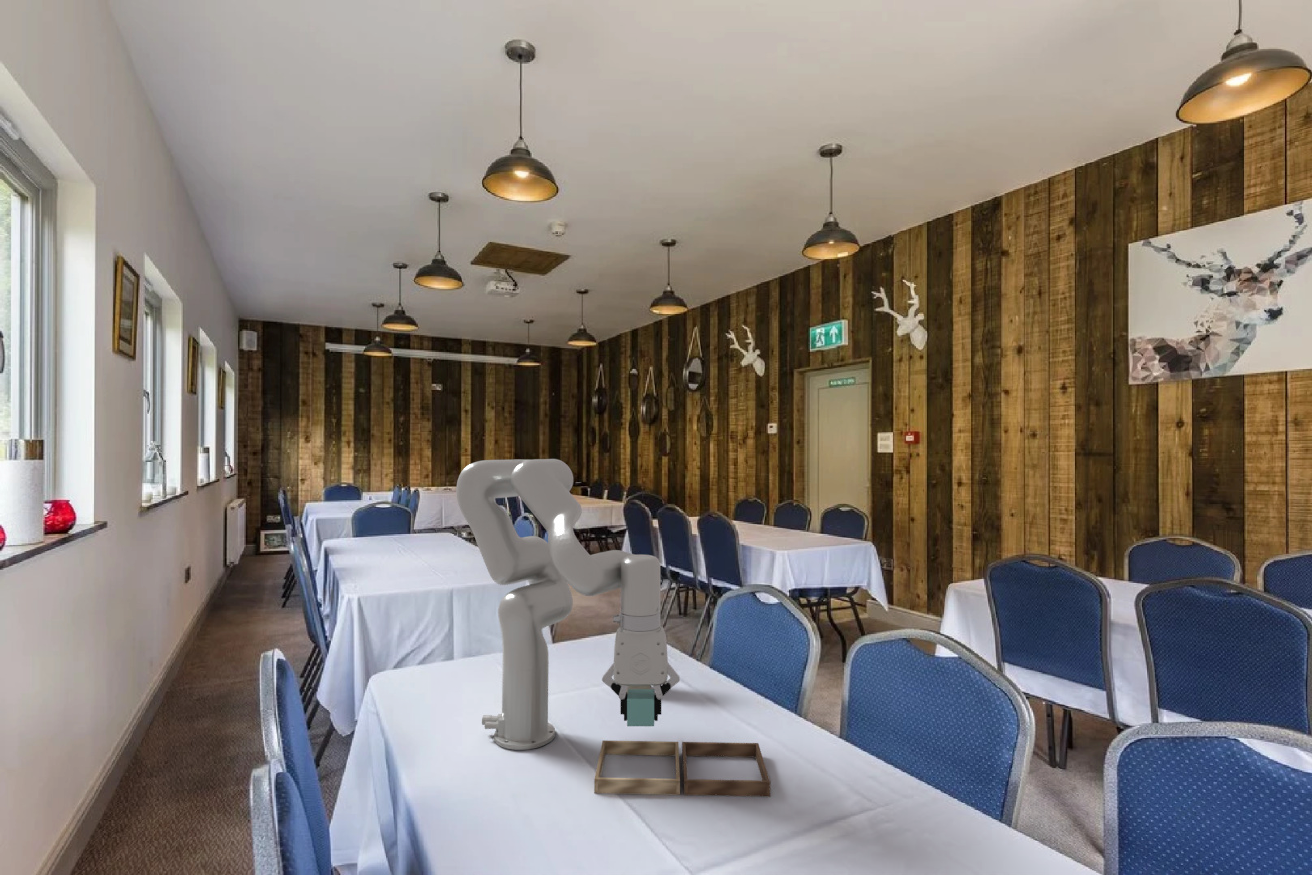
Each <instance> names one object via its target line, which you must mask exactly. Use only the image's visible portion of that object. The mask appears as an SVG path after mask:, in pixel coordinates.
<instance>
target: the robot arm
mask: <svg viewBox="0 0 1312 875" xmlns="http://www.w3.org/2000/svg"><path fill="white" fill-rule="evenodd" d="M573 485H574V474H573V472H572V470H571V468H570V466H568V464H566V462H564V461H562V460H560V459H557V458H545V459H544V458H540V459H539V458H537V459H535V458H534V459H523V458H522V459H519V458H518V459H487V460H485V459H484V460H478V461H475V462H472V463H470V464H467V465H466V466H465V467H464V468H463V469H462V470H461V472H460V474H459V475H458V479H457V482H456V488H455V489H456V490H455V492H456V494H455V495H456V501H457V505H458V507H459V509H460V512H461V513H462V516H463V518H464V520H466V523H467V524H468V527H470V530H471V532H472V534H473V536H474V538H475V541H476V545H477V547H478V549H479V552H480V554H481V557H482V559H483V562H484V564H485V568H486V570H487V571H488V574H489V576H490V577H491V579H492V580H493V581H494V583H495V584H498V585H499V586H509V585H514V584H518V583H522V582H526V581H527V582H528V585H524V586H520V587H517V588H515V589H512V590H510V591H509V592H507V593H506V594H505V595H504V596H503V597H502V599H501V600H500V602H499V605H498V610H497V611H498V612H497V613H498V623H499V627H500V633H501V634H500V635H501V641H502V644H501V645H502V681H501V682H502V684H501V685H502V686H501V687H502V688H501V689H502V690H501V691H502V696H501V698H502V699H501V713H498V714H497V715H491V714H490V715H489V714H483V715H482V719H481V725H482V726H484V729H485V730H493V729H495V731H494V735H493V737H494V738H493V740H494V742H495V743H496V745H497V746H499V747H502V748H504V749H507V750H515V751H523V750H524V751H525V750H527V751H528V750H533V749H534V750H535V749H537V748H541V747H543V746H545V745H547V744H549V743H550V742H552V741H553V739H554V738H555V737H556V727H555V726H554V725H553V724H552V723H550V722H549V664H550V663H549V647H548V644H547V642H546V639H545V637H544V635H543V632H542V631H543V629H545V628H547V627H549V626H551V625H552V626H553V625H554V624H557V623H559V622H562V621H564V620H565V619H567V618H568V616H569V615H571V612H572V610H573V606H574V605H573V604H574V602H573V601H574V600H573V593H572V591H571V588H572V589H573V590H575V591H576V592H577V593H579V594H580V595H582V596H586V597H594V596H595V597H596V596H598V595H601V594H604V593H607V592H611V591H614V590H618V589H620V612H619V614H613V616H612V617H613V619H612V621H613V622H612V623H617V624H619V625H620V626H619V627H618V628H617V629H616V632H615V639H614V649H613V650H614V651H613V663H612V664H611V666H609V668H608V669H607V671H606V672H605V673H604V674H603V675H602V679H601V681H602V682H603V684H605V685H606V686H608V687H609V688H610V689H611V690H612V692H614V693H615V694H616V695H617V696H618V698H619V700H620V701H619V702H620V706H619V707H620V715H623V721H624V722H627V696H628V694H627V688H628V685H629V686H651V687H653V689H654V722H658V720H659V719H658V718H659V715H662V699H663V697H664V696H665V695H666V694H667V693H668V692H669V691H670V690H671V688H673V687H674V686H675V685H677V684H678V683H680V675H679V674H678V673H677V672H676V670H675V669H674V667H672V665H671V664H670V663H669V660H668V659H669V658H668V645H667V643H668V642H667V636H666V632H665V628H664V627H663V626H661V563H660V562H661V561H660V559H659V558H658V557H656V556H655V555H652V554H651V555H650V554H634V553H631V552H627V551H623V550H621V549H619V550H617V549H613V550H612V549H611V550H607V551H601V552H598V553H594V554H593V553H592V554H590V553H589V552H588V551H587V550H586V549H585V547H584V546H583V544H582V543H580V541H579V540H578V538H577V536H576V535H575V531H574V526H575V525H576V524H577V522H578V521H579V520H580V518H581V516H582V513H583V509H582V505H581V504H580V503H579V502H578V501H577V499H576V498H575V497H574V496H573V495H572V493H571V492H570V491H571V490H572V487H573ZM515 497H519V498H520V499H521V500H522V502H523V503H524V504H525V506H526V507H527V508H528V509H529V510H530V511H531V513H532V514H533V515H534V516H535V518H536V519H537V520H538V521H539V522H540V524H541V526H543V528H544V529H545V531H546V532H547V541H546V540H545V539H543V538H541V537H539V536H534V535H530V536H524V537H521V536H519V535H518V533H517V530H516V528H515V527H514V524H513V521H512V520H511V517H510V516H509V515H508V513H507V512H506V511H505V510H504V509H503V508H502V507H501V506H500V505H499V504H498V503H497V502H496V499H503V498H515ZM570 587H571V588H570ZM668 677H669V679H668Z"/></svg>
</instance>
